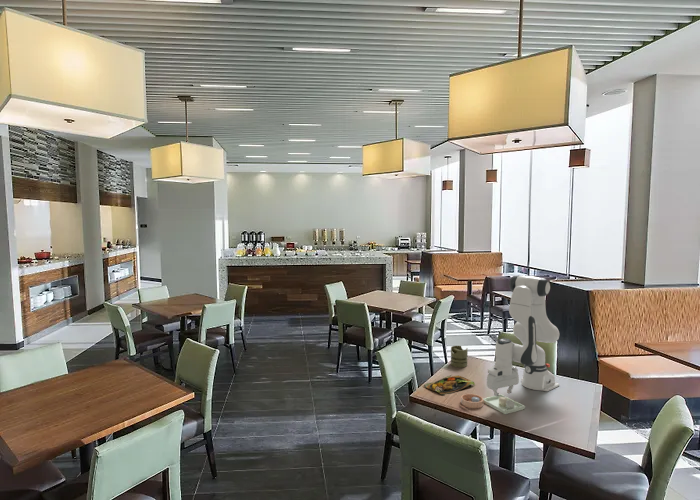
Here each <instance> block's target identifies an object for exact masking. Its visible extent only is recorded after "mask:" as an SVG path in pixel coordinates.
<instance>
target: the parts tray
mask: <svg viewBox="0 0 700 500" xmlns="http://www.w3.org/2000/svg"><path fill="white" fill-rule="evenodd" d="M499 397H505V398H507V400H511V401H513V402H514V408H513V409H509V410H507V409H506V407H502V406H500V405H499ZM482 398H483V400H484V403H483V404H485V405H487V406H489V407H491V408H492V409H494V410H497V411H498V412H500V413H502V414H504V415H509V414H511V413H515V412H519V411H522V410H525V409H526V405H524V404H522V403H520V402H518V401H516V400H514V399H512V398H509V397H508V396H506V395H503V394H502V393H500V394H499V396H494V395H492V396H488V397H485V398H484V397H482Z"/></svg>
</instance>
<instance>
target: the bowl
mask: <svg viewBox="0 0 700 500" xmlns="http://www.w3.org/2000/svg"><path fill="white" fill-rule="evenodd" d="M472 397H478V398H479V402H472ZM483 398H484V397H483V396H481V395H478V394H476V393H464V394H462V395H461V396H460V403H461V405H462V406H463V407H464V408H466V407H467V408H469V409H480V408H483V406H484V404H485V403H484V400H483Z"/></svg>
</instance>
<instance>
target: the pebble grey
mask: <svg viewBox="0 0 700 500" xmlns="http://www.w3.org/2000/svg"><path fill="white" fill-rule="evenodd" d="M513 408H514V402H513V401H511V400H507V401H506V409H507V410H509V409H513Z"/></svg>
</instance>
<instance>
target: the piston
mask: <svg viewBox="0 0 700 500" xmlns="http://www.w3.org/2000/svg"><path fill="white" fill-rule="evenodd" d="M468 351H469V350H468V347H466V348H465V349H463V348H462V345H453V346H450V365H451V366H452V367H455V368H461V369H462V368H467V367H468V356H469V355H468Z"/></svg>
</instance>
